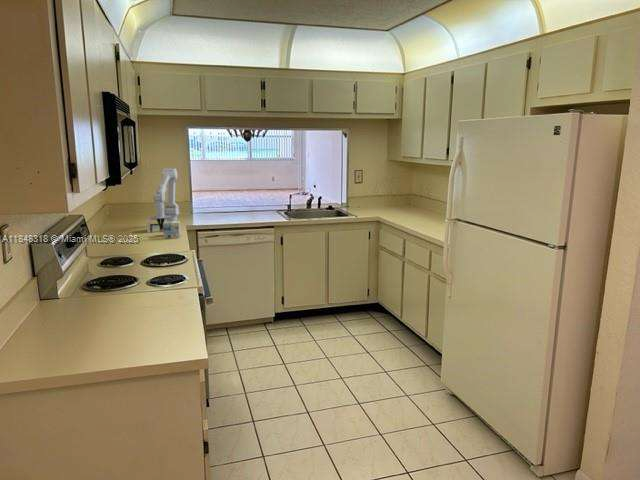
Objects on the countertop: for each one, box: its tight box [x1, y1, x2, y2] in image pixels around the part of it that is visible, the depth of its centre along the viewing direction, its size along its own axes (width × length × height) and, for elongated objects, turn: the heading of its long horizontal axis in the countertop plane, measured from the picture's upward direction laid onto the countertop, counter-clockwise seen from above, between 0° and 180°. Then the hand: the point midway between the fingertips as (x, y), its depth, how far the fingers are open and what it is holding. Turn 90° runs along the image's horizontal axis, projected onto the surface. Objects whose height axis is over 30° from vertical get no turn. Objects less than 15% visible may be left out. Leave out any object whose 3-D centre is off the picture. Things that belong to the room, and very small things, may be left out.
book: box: [152, 226, 161, 233], centre depth 339 cm, size 8×5×3 cm, turn 18°
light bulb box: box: [162, 220, 181, 239], centre depth 325 cm, size 11×7×11 cm, turn 101°
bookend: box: [146, 218, 151, 234], centre depth 337 cm, size 10×2×8 cm, turn 18°
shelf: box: [149, 223, 164, 234], centre depth 341 cm, size 12×18×6 cm
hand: (161, 229), depth 340 cm, fingers closed
